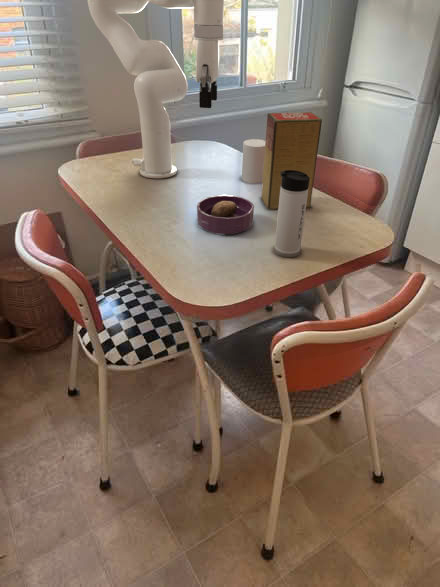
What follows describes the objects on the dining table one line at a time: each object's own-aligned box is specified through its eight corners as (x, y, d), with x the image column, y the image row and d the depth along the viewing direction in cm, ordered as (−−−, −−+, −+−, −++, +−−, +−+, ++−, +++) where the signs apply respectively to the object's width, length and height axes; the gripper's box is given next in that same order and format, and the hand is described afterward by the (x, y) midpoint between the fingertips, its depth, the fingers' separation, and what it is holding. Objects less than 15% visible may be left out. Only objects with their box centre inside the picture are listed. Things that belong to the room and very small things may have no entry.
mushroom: (247, 207, 120) (234, 191, 117) (238, 229, 116) (224, 213, 113) (225, 214, 126) (212, 198, 122) (215, 235, 122) (202, 219, 118)
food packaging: (301, 195, 138) (312, 111, 124) (311, 207, 130) (324, 119, 116) (260, 197, 136) (266, 112, 122) (267, 210, 129) (275, 120, 114)
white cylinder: (265, 175, 152) (268, 139, 145) (265, 184, 146) (268, 147, 139) (242, 174, 153) (244, 138, 146) (240, 182, 146) (242, 146, 139)
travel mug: (270, 245, 111) (278, 167, 100) (296, 245, 112) (306, 167, 100) (275, 258, 106) (283, 177, 95) (302, 257, 107) (313, 177, 95)
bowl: (192, 233, 116) (192, 215, 113) (202, 209, 128) (202, 193, 125) (250, 238, 114) (251, 220, 111) (254, 213, 127) (256, 197, 124)
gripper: (200, 29, 121) (200, 96, 131) (187, 35, 107) (189, 110, 117) (227, 30, 120) (225, 98, 130) (218, 36, 106) (217, 111, 116)
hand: (208, 103), depth 123 cm, fingers open, 9 cm apart
